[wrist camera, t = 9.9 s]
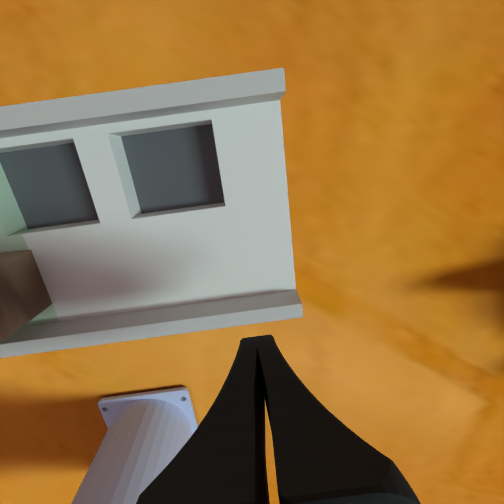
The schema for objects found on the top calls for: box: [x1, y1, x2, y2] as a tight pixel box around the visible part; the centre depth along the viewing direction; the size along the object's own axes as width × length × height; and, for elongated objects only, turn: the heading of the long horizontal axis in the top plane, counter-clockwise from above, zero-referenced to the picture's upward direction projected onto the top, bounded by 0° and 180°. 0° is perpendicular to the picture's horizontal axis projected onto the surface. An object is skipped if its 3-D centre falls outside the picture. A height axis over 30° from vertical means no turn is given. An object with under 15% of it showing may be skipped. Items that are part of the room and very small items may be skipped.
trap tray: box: [0, 68, 303, 358], centre depth 17 cm, size 14×22×4 cm, turn 97°
